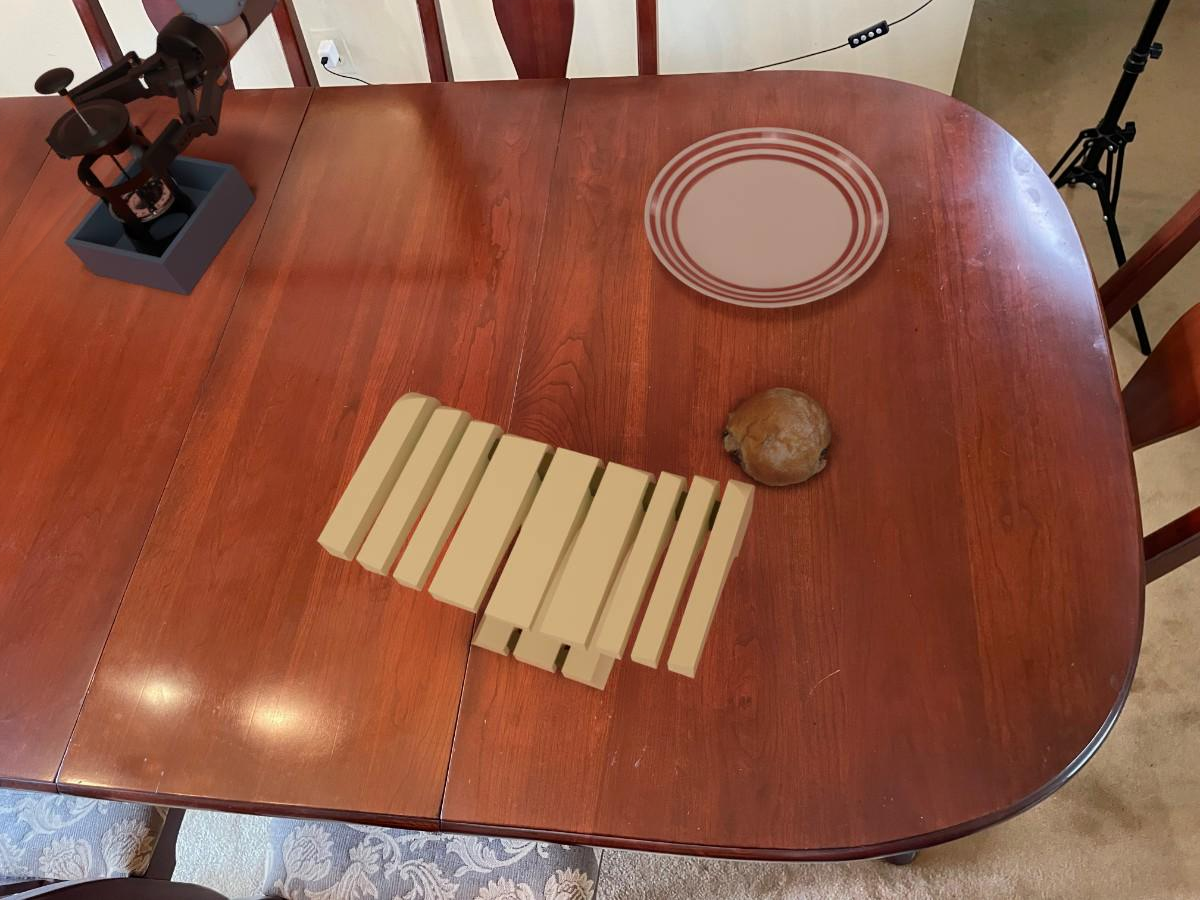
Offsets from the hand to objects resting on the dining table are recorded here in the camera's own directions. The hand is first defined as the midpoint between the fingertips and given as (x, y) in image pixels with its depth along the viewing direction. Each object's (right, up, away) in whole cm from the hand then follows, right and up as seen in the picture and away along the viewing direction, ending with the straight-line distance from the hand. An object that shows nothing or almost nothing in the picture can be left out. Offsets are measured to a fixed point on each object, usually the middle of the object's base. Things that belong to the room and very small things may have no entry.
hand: (101, 159), depth 96 cm
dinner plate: (+76, -7, +3) cm, 76 cm away
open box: (+2, -6, +13) cm, 14 cm away
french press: (+2, -5, +12) cm, 13 cm away
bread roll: (+74, -33, -11) cm, 82 cm away
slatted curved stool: (+53, -46, -16) cm, 72 cm away
